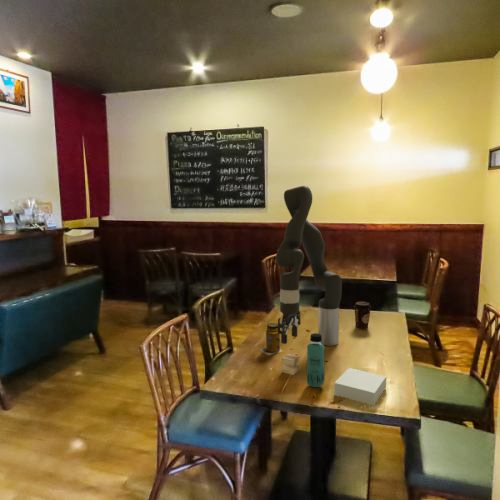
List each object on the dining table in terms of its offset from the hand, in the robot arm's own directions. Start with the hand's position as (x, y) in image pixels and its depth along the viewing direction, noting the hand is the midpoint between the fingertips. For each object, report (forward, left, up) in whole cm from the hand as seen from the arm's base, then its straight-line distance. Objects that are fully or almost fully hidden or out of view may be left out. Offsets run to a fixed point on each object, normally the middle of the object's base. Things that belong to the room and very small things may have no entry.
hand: (289, 339), depth 165 cm
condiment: (-14, -17, -13) cm, 25 cm away
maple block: (0, 0, -13) cm, 13 cm away
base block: (+2, +29, -13) cm, 32 cm away
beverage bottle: (+7, +14, -13) cm, 21 cm away
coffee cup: (-63, +8, -13) cm, 65 cm away
